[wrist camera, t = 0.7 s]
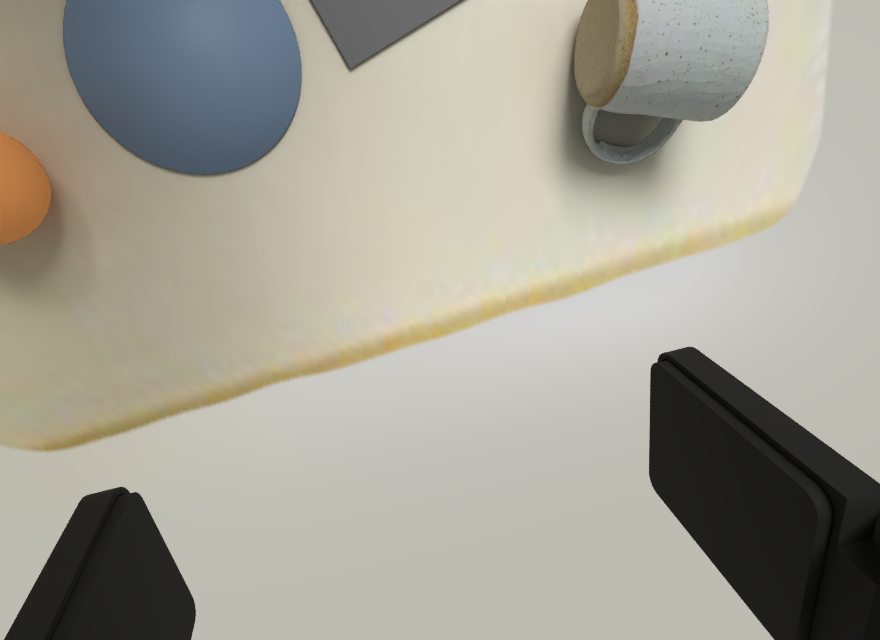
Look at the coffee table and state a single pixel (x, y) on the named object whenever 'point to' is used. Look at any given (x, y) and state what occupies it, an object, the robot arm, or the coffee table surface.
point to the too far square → (373, 22)
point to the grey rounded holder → (665, 63)
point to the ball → (21, 190)
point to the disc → (186, 77)
